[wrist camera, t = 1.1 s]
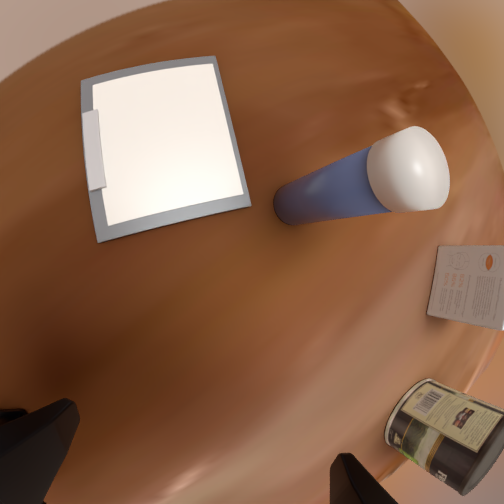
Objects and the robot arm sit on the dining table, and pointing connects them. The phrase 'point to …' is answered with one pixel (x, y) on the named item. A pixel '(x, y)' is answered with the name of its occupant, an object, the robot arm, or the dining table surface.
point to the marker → (371, 182)
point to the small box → (469, 285)
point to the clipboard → (159, 147)
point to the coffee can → (447, 433)
